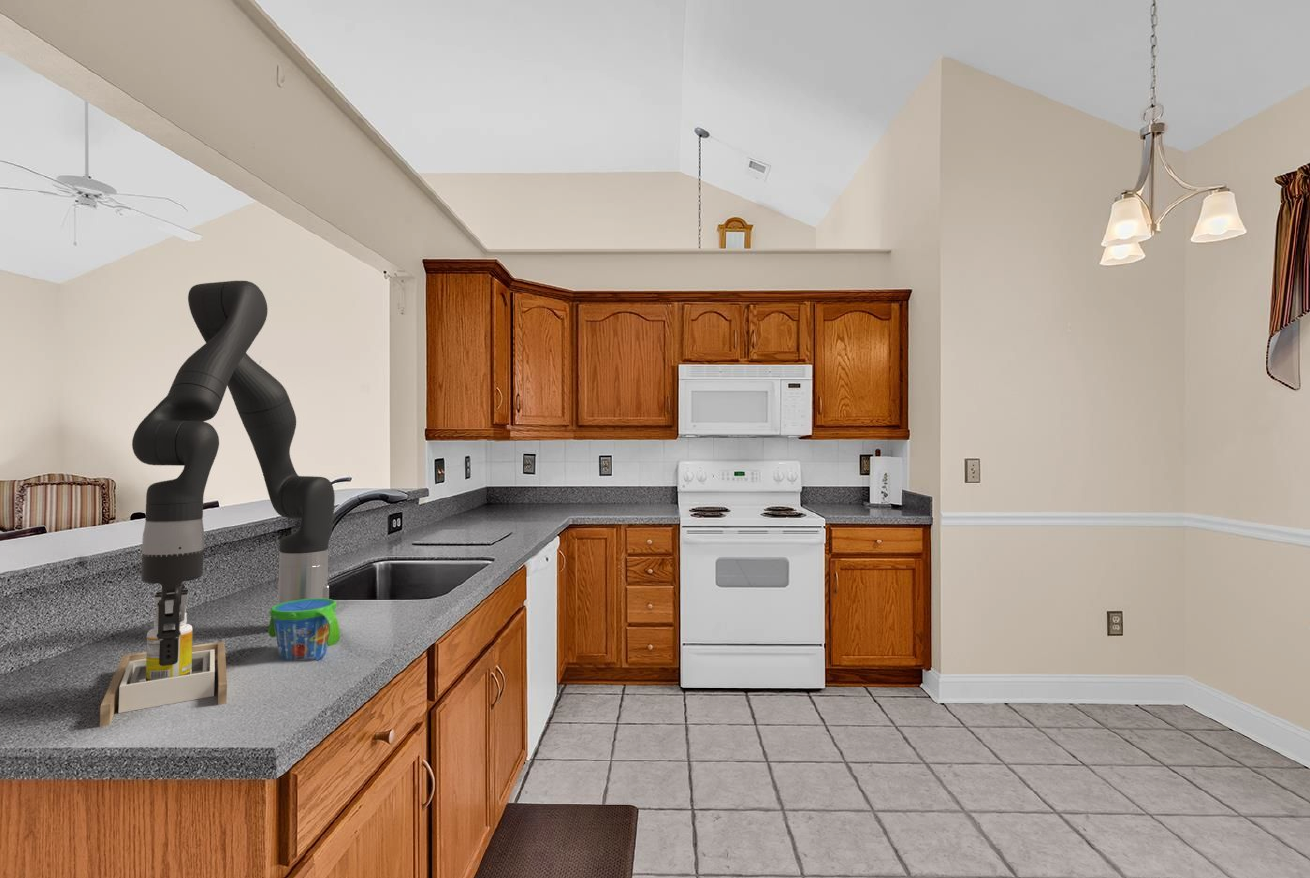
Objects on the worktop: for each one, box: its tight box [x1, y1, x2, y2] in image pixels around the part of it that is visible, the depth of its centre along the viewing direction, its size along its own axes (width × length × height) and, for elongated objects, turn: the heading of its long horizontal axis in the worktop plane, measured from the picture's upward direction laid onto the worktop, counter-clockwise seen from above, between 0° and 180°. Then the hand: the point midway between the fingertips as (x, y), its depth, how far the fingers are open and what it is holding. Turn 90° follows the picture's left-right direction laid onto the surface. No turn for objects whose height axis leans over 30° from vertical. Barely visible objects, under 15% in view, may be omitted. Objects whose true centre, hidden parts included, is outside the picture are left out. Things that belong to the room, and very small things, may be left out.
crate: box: [118, 649, 216, 714], centre depth 95 cm, size 11×13×4 cm
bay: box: [99, 640, 228, 728], centre depth 97 cm, size 14×25×4 cm, turn 36°
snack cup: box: [267, 598, 341, 661], centre depth 114 cm, size 16×10×10 cm
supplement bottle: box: [145, 612, 193, 681], centre depth 94 cm, size 6×6×10 cm
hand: (169, 658), depth 94 cm, fingers closed on supplement bottle, 5 cm apart
